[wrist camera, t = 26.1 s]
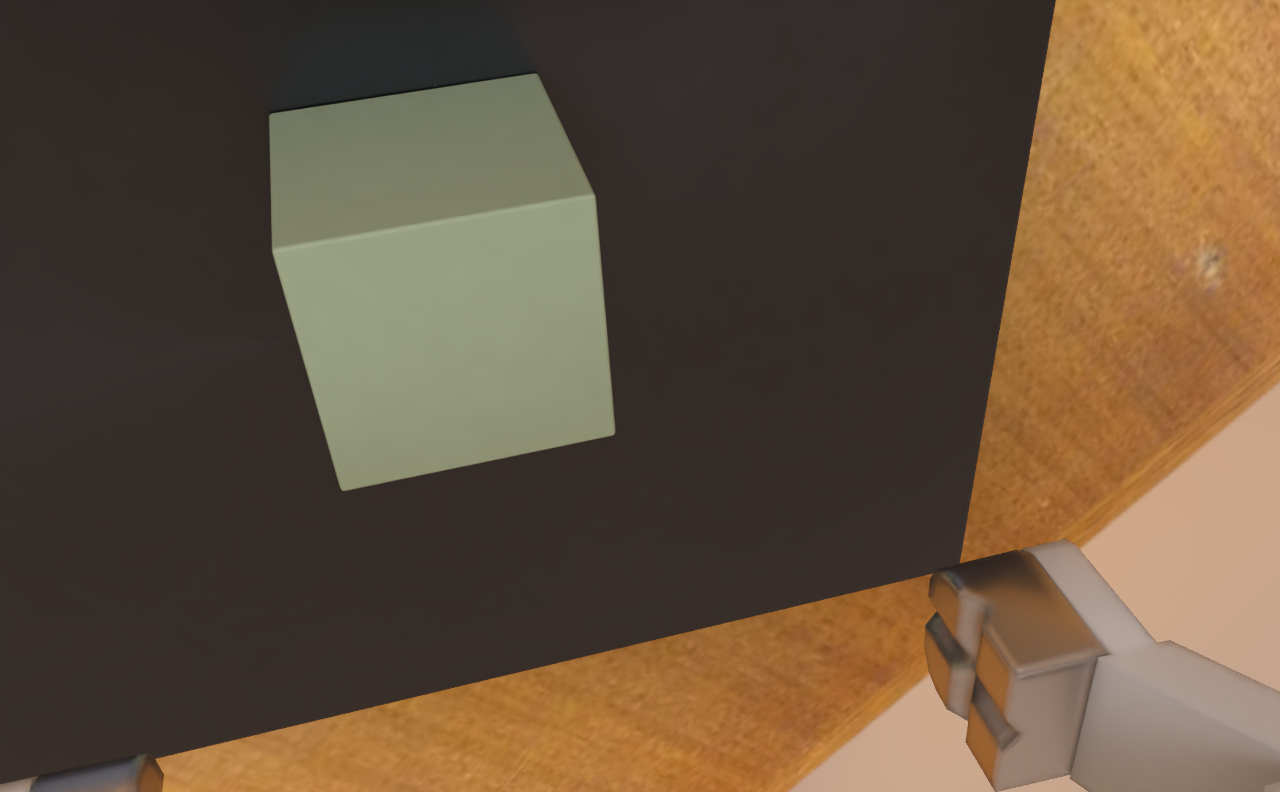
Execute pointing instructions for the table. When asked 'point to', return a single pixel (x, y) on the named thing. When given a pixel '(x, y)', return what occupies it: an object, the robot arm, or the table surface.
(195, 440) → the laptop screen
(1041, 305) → the table surface
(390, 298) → the block
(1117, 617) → the robot arm
